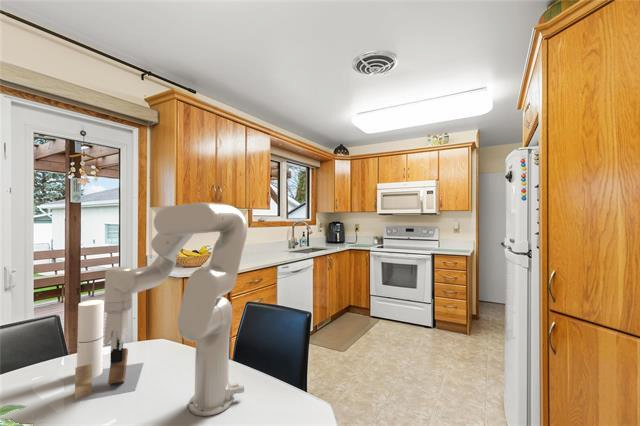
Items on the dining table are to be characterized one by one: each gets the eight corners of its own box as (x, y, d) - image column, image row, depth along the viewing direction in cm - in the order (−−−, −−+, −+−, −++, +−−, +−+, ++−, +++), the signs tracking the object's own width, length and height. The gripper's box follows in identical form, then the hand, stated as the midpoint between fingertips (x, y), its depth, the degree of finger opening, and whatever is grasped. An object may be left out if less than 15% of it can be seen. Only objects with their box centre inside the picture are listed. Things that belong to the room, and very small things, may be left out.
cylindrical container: (88, 381, 101) (90, 306, 101) (71, 378, 102) (72, 304, 103) (107, 370, 108) (108, 300, 108) (91, 368, 109) (92, 299, 110)
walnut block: (124, 382, 101) (128, 350, 106) (122, 381, 98) (126, 348, 103) (110, 384, 99) (114, 351, 104) (107, 383, 96) (112, 350, 101)
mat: (143, 363, 114) (143, 362, 114) (134, 391, 96) (135, 390, 96) (92, 371, 108) (92, 370, 108) (72, 403, 90) (72, 402, 90)
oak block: (90, 388, 97) (91, 363, 97) (91, 394, 94) (91, 368, 94) (74, 393, 94) (75, 367, 94) (74, 399, 91) (75, 372, 91)
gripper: (109, 300, 104) (108, 353, 104) (98, 313, 91) (96, 374, 90) (135, 298, 107) (133, 350, 107) (127, 310, 94) (126, 370, 93)
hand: (116, 361), depth 99 cm, fingers closed
